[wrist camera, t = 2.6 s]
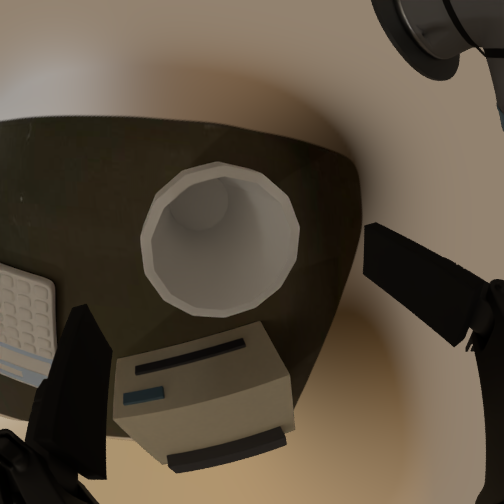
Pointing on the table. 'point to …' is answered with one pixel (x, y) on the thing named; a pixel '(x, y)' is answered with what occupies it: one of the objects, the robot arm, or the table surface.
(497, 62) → the robot arm
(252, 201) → the foam cup
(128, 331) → the table surface
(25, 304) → the calculator
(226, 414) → the printer
